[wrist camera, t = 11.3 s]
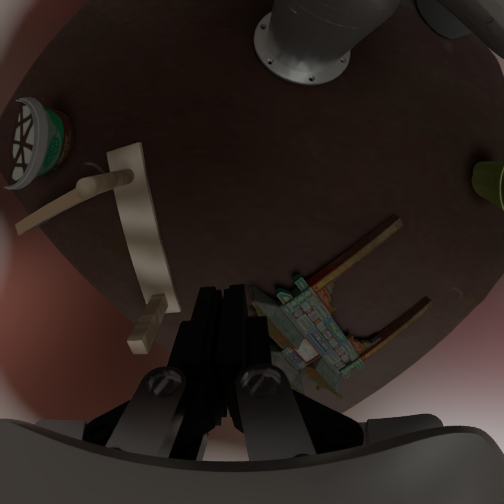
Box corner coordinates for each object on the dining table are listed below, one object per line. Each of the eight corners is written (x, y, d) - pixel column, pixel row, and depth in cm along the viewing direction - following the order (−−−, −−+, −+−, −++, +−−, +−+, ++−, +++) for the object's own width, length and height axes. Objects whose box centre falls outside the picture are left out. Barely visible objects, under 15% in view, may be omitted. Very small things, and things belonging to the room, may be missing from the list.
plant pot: (475, 214, 35) (507, 228, 27) (458, 170, 33) (494, 178, 25) (498, 185, 34) (529, 195, 25) (483, 143, 31) (517, 147, 23)
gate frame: (109, 152, 31) (58, 156, 20) (141, 142, 31) (97, 140, 20) (151, 311, 40) (127, 362, 29) (181, 308, 40) (163, 361, 29)
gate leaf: (116, 174, 31) (90, 180, 25) (120, 185, 32) (95, 194, 25) (42, 212, 32) (14, 224, 26) (45, 222, 33) (18, 235, 26)
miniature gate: (441, 322, 39) (308, 417, 43) (425, 309, 44) (302, 397, 48) (395, 195, 31) (209, 331, 35) (374, 190, 36) (211, 310, 40)
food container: (74, 185, 32) (31, 198, 23) (46, 180, 32) (3, 192, 22) (89, 102, 28) (47, 92, 19) (59, 102, 28) (16, 95, 18)
